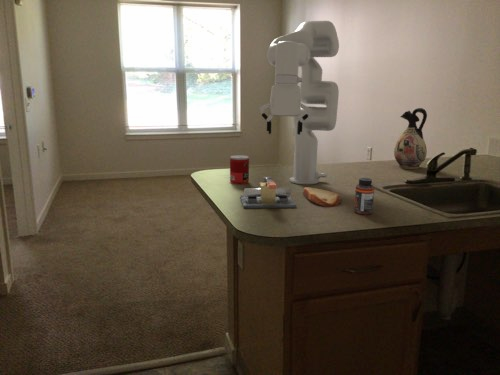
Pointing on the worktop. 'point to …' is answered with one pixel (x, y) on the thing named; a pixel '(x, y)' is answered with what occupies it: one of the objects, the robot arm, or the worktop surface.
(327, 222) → the worktop surface
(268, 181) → the lever
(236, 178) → the canned food
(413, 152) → the ceramic jug
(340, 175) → the worktop surface
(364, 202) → the supplement bottle
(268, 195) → the valve assembly
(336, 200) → the bread slice
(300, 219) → the worktop surface
